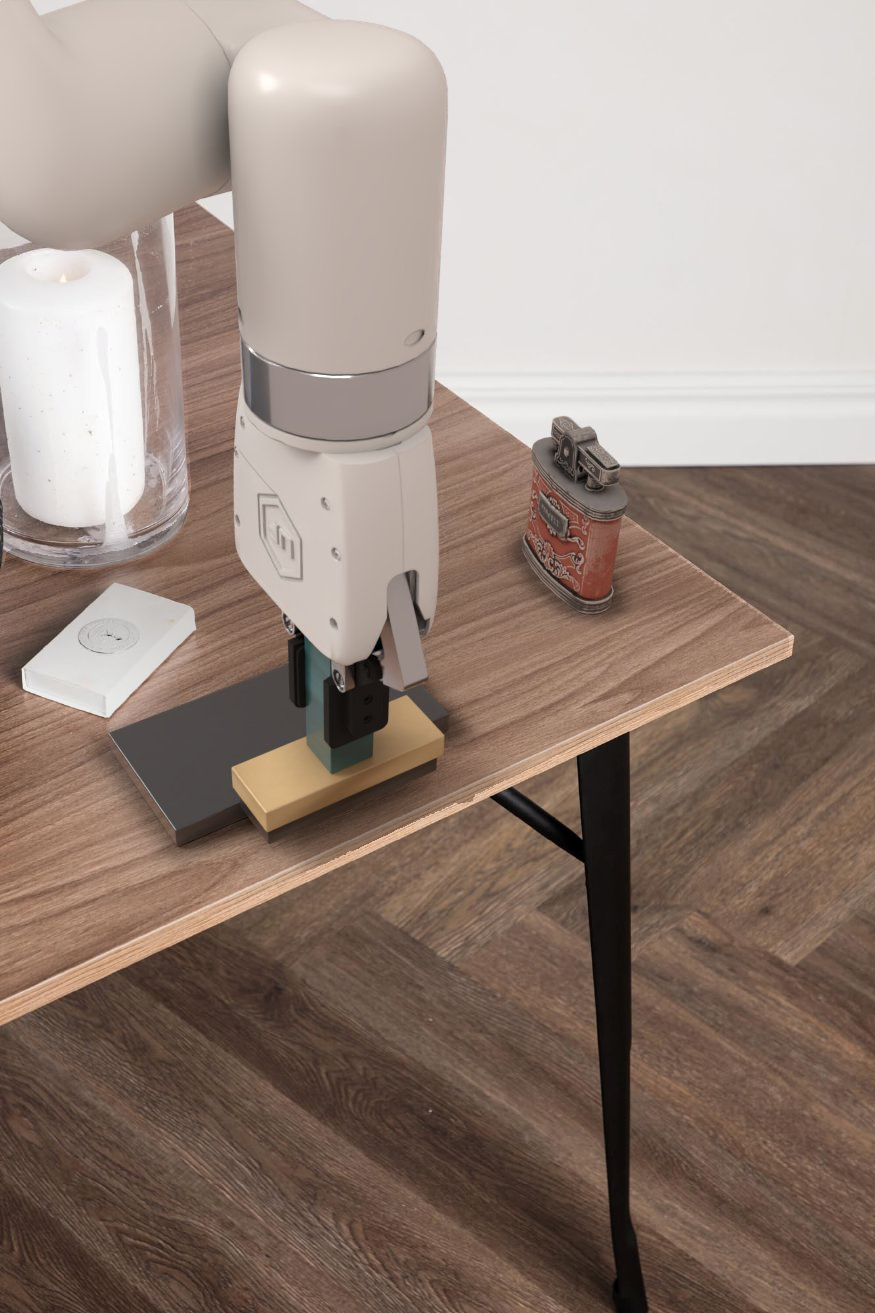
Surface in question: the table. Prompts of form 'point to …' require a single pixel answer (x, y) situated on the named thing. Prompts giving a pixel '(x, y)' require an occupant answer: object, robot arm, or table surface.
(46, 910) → the table surface
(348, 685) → the robot arm
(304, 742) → the rubber stamp
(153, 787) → the board
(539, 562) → the lighter
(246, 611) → the table surface
